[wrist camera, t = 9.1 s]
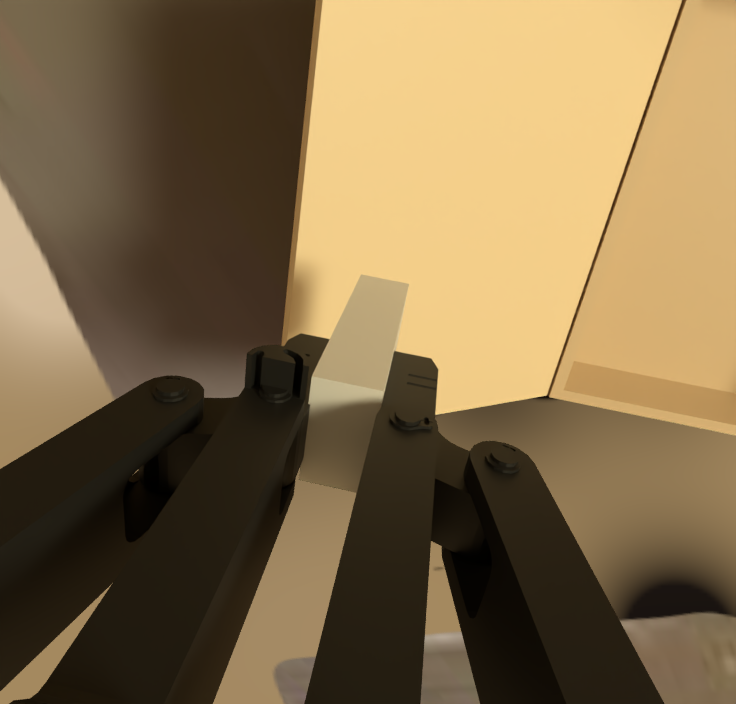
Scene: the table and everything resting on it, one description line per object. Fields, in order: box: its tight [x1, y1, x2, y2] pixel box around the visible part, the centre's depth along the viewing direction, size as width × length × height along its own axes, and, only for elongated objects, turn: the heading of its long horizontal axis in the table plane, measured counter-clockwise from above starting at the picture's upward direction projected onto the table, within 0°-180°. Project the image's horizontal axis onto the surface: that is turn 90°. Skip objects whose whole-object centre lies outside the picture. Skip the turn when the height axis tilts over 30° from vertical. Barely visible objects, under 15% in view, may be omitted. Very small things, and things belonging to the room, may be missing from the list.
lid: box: [281, 0, 682, 415], centre depth 23 cm, size 22×16×1 cm
